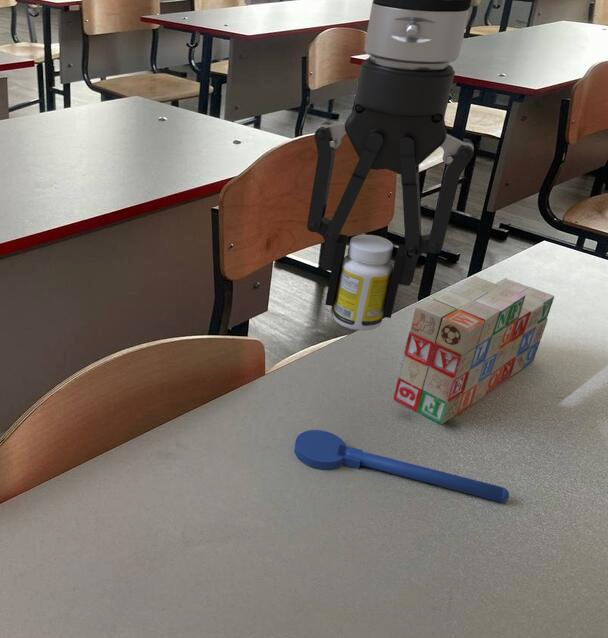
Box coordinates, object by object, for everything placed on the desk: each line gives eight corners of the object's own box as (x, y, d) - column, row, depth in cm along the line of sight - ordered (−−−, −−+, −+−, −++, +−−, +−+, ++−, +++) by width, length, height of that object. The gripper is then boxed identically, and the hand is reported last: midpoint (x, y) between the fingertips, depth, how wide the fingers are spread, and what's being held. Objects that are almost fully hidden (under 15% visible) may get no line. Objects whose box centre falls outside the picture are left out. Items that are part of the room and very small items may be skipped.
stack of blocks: (486, 341, 98) (513, 254, 92) (534, 362, 94) (565, 273, 88) (391, 399, 86) (415, 304, 80) (441, 426, 82) (470, 328, 76)
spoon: (506, 485, 74) (510, 474, 74) (507, 520, 70) (512, 508, 69) (299, 432, 81) (301, 421, 80) (289, 461, 76) (291, 450, 76)
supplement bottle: (381, 313, 77) (398, 236, 73) (381, 335, 73) (399, 256, 69) (333, 305, 78) (347, 229, 74) (330, 327, 74) (345, 248, 70)
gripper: (293, 57, 63) (261, 302, 75) (527, 80, 57) (453, 343, 69) (311, 43, 69) (279, 272, 81) (523, 63, 63) (456, 307, 75)
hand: (359, 305), depth 75 cm, fingers closed on supplement bottle, 5 cm apart
